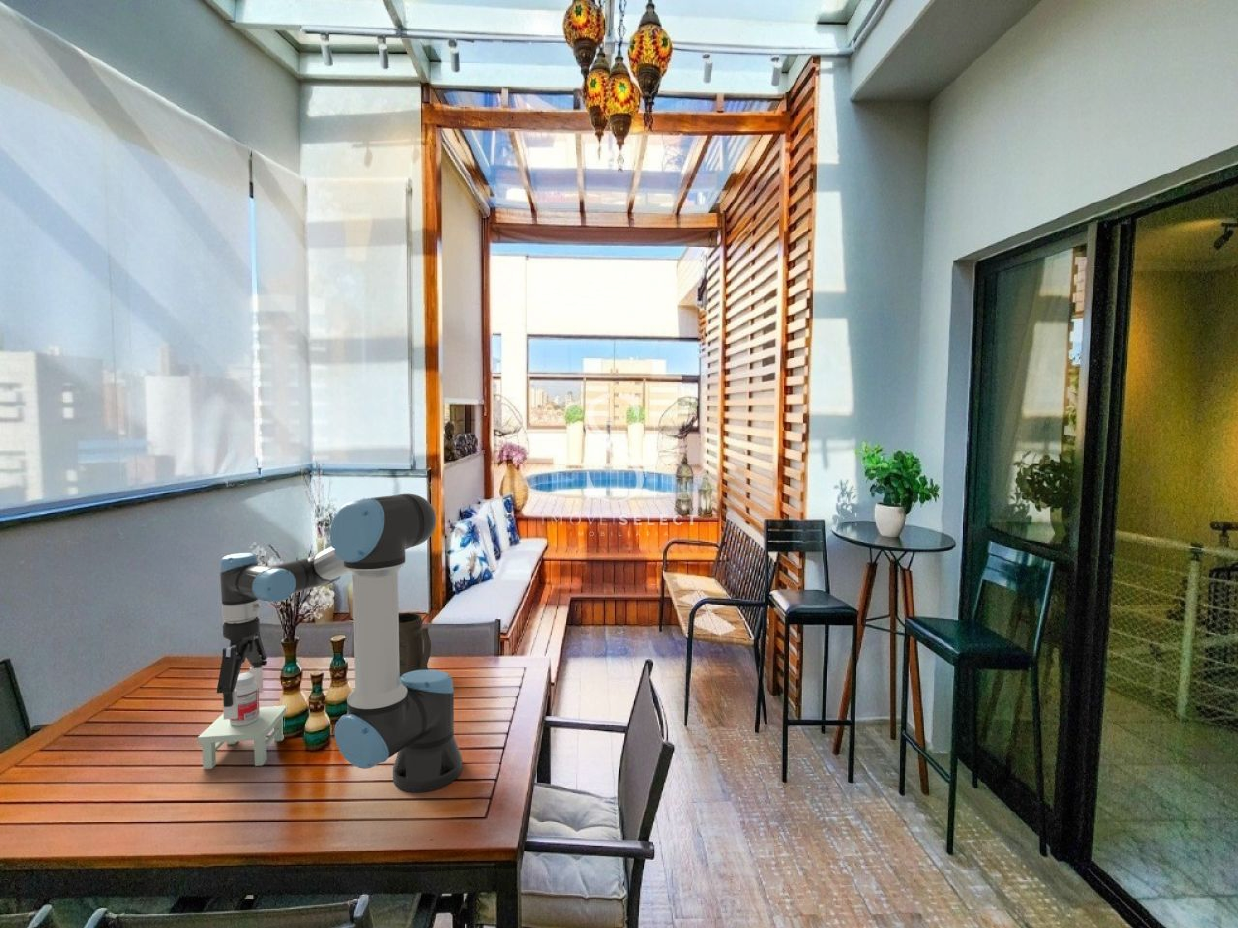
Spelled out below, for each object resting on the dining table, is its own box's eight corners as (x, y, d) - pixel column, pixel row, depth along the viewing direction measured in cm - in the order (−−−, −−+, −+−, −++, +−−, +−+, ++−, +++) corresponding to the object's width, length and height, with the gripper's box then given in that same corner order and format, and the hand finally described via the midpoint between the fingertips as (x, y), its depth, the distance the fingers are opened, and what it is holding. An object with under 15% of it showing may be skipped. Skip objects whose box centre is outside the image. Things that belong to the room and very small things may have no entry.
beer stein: (378, 683, 187) (380, 620, 186) (400, 669, 198) (402, 609, 196) (421, 693, 183) (424, 628, 181) (441, 678, 193) (444, 617, 191)
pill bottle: (238, 715, 150) (236, 671, 149) (264, 714, 151) (263, 670, 150) (224, 727, 144) (222, 681, 143) (251, 726, 144) (250, 680, 144)
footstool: (264, 766, 142) (263, 732, 141) (199, 770, 140) (197, 737, 139) (288, 735, 156) (287, 705, 155) (228, 739, 154) (227, 708, 153)
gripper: (233, 635, 134) (236, 729, 135) (279, 602, 159) (281, 682, 160) (195, 637, 133) (200, 731, 134) (248, 603, 157) (251, 684, 159)
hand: (244, 705), depth 147 cm, fingers open, 13 cm apart
